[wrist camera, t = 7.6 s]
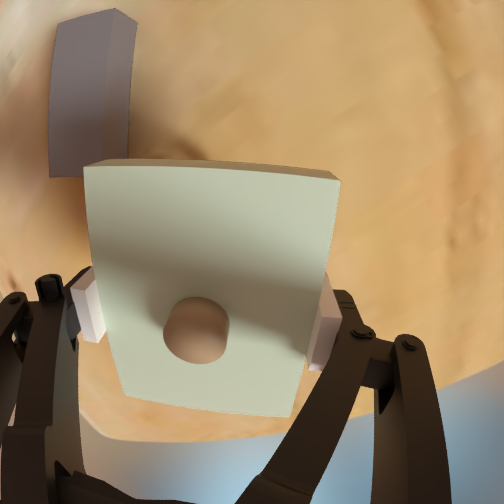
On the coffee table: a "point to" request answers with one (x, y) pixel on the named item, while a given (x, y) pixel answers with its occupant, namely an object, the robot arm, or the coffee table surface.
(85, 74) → the block
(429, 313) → the coffee table surface
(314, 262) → the lid
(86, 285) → the robot arm
